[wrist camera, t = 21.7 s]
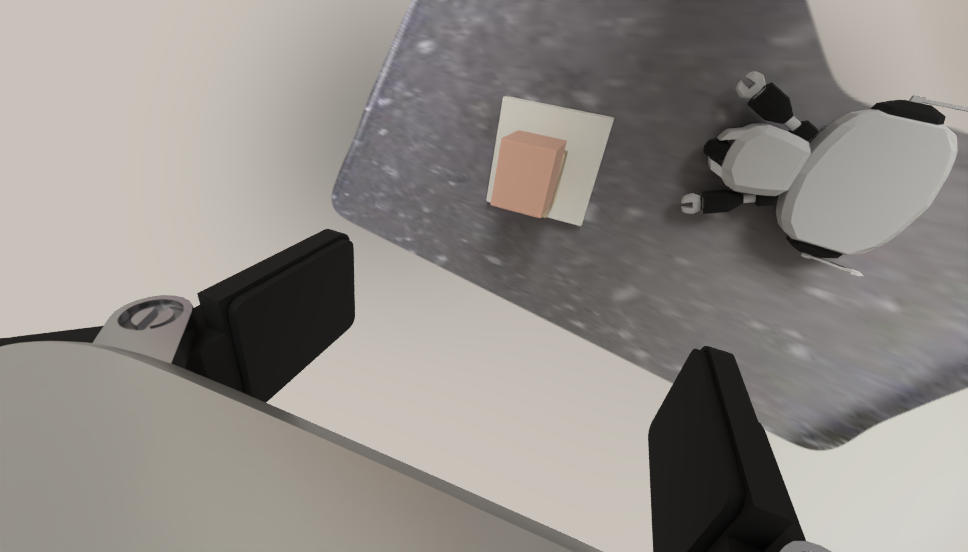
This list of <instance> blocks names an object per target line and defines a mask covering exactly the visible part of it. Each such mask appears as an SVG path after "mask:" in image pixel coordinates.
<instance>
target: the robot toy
mask: <svg viewBox="0 0 968 552" xmlns="http://www.w3.org/2000/svg"><path fill="white" fill-rule="evenodd" d="M745 77H746V78H748V79H749V80H750V81H751V82H753V84H752V85H751V86H750V87H749V88H748V87H747V86H746V85H745V84H744V83H743V82H742V80H741V81H740V82H739V83H738V84H737V86H736V92H737V94H738V95H739V97H741V98H745V99H751V100H750V101H749V102H748V105H749V106H750V107H751V108H752V109H753V110H754V111H755V112H756V113H757V114H758V115H759V116H761V117H762V118H763V119H764V120H768V121H772V122H776V123H782V124H784V125H785V126H786V127H787V128H788V129H789V130H790V131H789V132H788V131H785V130H782V129H780V128H777V127H774V126H772V125H769V124H766V123H752V124H749V125H747V126H745V127H741V128H731V129H726V130H725V131H723V132H722V133H721V134H720V135H719V136H717V138H718V139H711V140H709V141H708V142H707V143H706V145H705V147H704V154H706V155H707V156H708V165H709V167H710V169H711V170H712V171H713V172H715V173H716V174H717V175H719V176H720V177H721V178H722V180H723V182H724V183H725V185H726V186H728V187H729V188H731V189H732V190H734V191H731V190H728V189H723V190H714V191H705V192H703V196H700V195H697V194H694V193H691V194H688V195H684V196H683V198H682V199H681V203H682V204H683V203H690V202H692V205H689V206H682V211H683V212H684V213H687V214H694V213H696V212H698V211H700V210H702V209H703V213H704V214H706V213H718V212H728V211H730V210H732V209H734V208H736V207H738V206H739V205H741V204H743V203H751V202H754V203H755V205H757V206H765V205H774V197H775V196H777V195H779V198H778V202H777V206H776V216H777V222H778V224H779V226H780V227H781V228H782V229H783V231H784V232H785V233H787V238H786V239H787V240H788V241H789V243H790V244H791V245H792V246H793V247H794V248H796V249H797V250H798V251H800V252H802V253H801V256H803V257H805V258H808V259H810V258H812V259H815V260H817V261H820V262H823V263H826V264H828V265H831V266H834V267H836V268H839V269H842V270H844V271H847V272H849V273H850V274H853V275H856V276H863V275H862V274H861V273H860V272H858V271H856V270H853V269H848V268H846V267H843V266H840V265H838V264H835V263H832V262H830V261H827V260H824V259H821V258H838V257H840V256H841V255H843V254H864V253H866V252H869V251H871V250H874V249H876V248H878V247H880V246H882V245H884V244H885V243H887V242H888V241H890V240H891V239H892V238H894V237H895V236H897V235H898V234H899V233H901V232H902V231H903V230H904V229H905V228H906V227H908V226H909V225H910V224H911V223H912V222H913V221H914V220H915V219H916V218H917V217H919V216H920V215H921V214H922V213H923V212H924V211H925V210H926V209H927V208H928V207H930V205H931V203H932V202H933V200H934V198H935V197H936V195H937V194H938V192H939V190H940V189H941V187H942V185H943V184H944V182H945V180H946V179H947V177H948V175H949V173H950V171H951V168H952V166H953V164H954V161H955V158H956V155H957V136H956V135H955V134H954V133H953V132H952V131H951V130H950V129H948V128H947V127H946V126H945V125H944V120H945V116H944V115H943V114H941V113H940V112H939V111H938V110H936V109H935V108H934V107H932V106H931V105H925V104H922V103H927V104H932V105H937V106H942V107H947V108H952V109H957V110H963V111H968V108H967V107H962V106H957V105H952V104H947V103H941V102H936V101H931V100H926V99H925V98H924V97H919V96H912V97H911V99H910V100H909V101H907V100H895V101H886V102H880V103H876V104H875V105H874V106H873V107H872V108H870V109H867V110H861V111H855V112H849V113H847V114H846V115H844V116H842V117H841V118H839V119H837V120H835V121H834V122H832V123H831V124H830V125H828V126H827V127H826V128H825V129H824V130H823V131H822V132H821V133H820V134H819V135H818V136H817V137H816V138H815V139H814V140H813V141H811V143H810V144H809V142H808V141H809V140H810V139H811V138H812V137H814V136H815V135H816V134H817V133H818V129H817V128H816V127H814V126H813V125H812V124H811V123H810V122H809V121H802V122H800V121H799V120H798V119H796V118H795V117H794V116H793V112H792V107H791V103H790V99H789V97H788V96H787V95H785V94H784V93H783V92H782V91H781V90H780V89H779V88H778V87H777V86H776V85H774V84H773V83H770V84H768V85H766V82H765V78H764V75H763V74H761V73H759V72H757V71H753V72H749V73H748V74H747V75H746V76H745ZM723 140H729V142H726V141H723ZM712 157H713V158H716V159H720V161H719V163H718V162H717V161H716V160H714V159H713V158H712ZM735 191H737V192H735ZM738 192H743V193H749V194H741V193H738Z"/></svg>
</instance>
